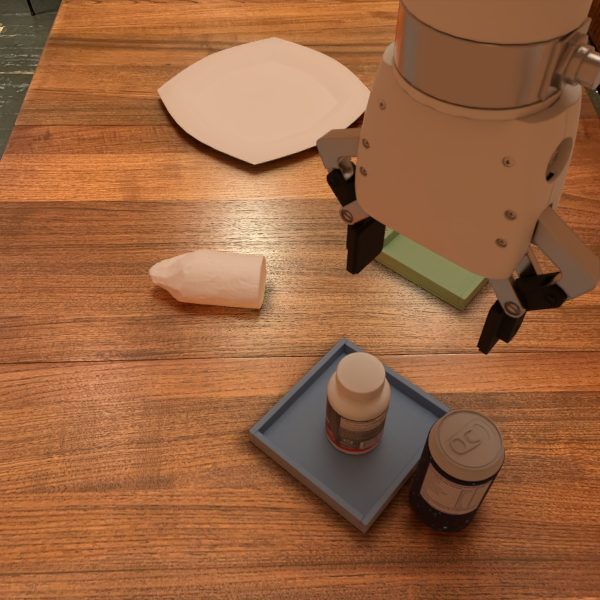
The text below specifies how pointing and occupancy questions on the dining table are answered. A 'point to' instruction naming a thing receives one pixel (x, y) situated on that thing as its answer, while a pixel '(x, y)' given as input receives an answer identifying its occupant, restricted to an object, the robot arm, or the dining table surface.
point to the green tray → (430, 270)
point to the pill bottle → (357, 404)
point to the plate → (264, 99)
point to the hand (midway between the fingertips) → (426, 297)
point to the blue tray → (336, 464)
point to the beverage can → (456, 469)
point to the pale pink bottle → (213, 278)
